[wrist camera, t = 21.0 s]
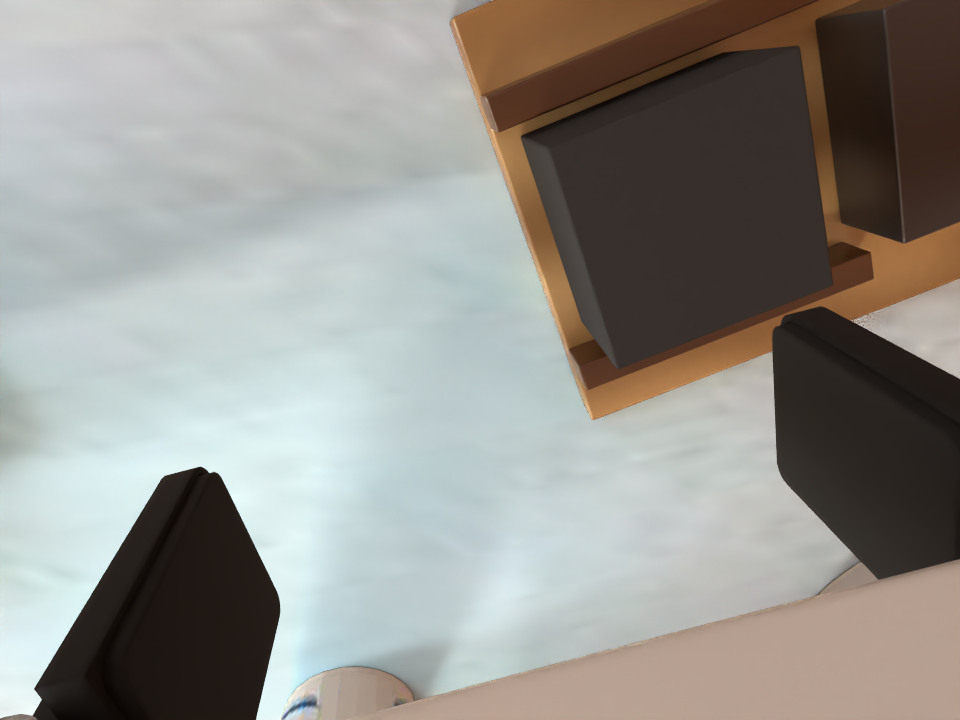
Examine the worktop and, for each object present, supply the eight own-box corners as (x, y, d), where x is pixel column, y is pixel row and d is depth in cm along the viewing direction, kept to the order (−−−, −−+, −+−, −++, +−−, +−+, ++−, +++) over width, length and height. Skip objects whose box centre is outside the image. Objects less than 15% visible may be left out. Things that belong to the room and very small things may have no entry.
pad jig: (448, 21, 19) (460, 5, 15) (1075, -245, 18) (1258, -333, 14) (584, 406, 25) (617, 466, 21) (1064, 219, 24) (1191, 246, 20)
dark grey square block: (519, 135, 19) (546, 148, 15) (724, 51, 19) (801, 44, 15) (581, 322, 22) (617, 370, 18) (762, 251, 21) (835, 286, 18)
